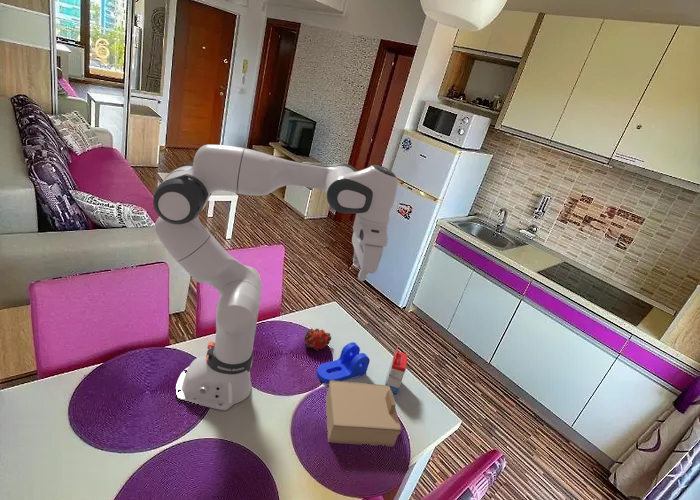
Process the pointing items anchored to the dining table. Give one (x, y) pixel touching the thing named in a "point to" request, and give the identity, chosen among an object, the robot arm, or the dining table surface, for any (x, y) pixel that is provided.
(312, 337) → the dragon fruit
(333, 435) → the mailer box
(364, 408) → the lid
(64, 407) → the dining table surface
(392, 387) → the ink box
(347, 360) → the bracket
